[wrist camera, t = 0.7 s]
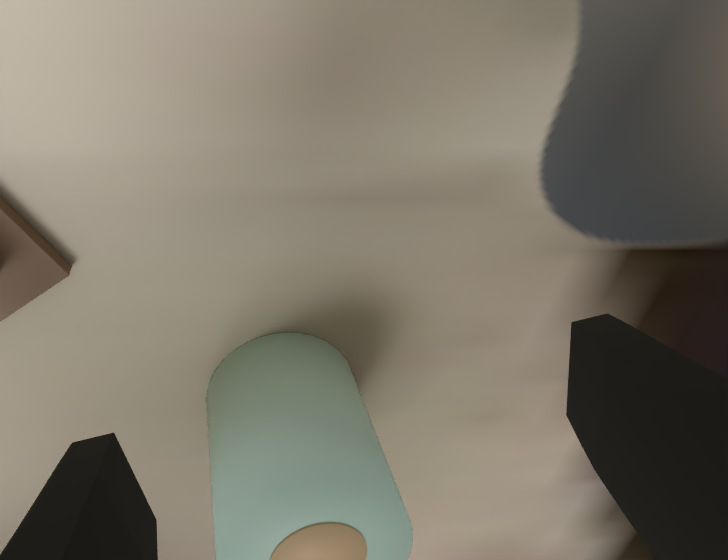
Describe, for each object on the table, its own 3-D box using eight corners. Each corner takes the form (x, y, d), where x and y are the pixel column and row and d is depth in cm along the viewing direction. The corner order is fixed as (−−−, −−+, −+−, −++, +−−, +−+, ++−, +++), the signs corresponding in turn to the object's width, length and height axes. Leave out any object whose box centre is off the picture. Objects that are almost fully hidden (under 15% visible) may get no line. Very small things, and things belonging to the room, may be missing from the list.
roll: (263, 473, 24) (291, 652, 18) (174, 389, 22) (173, 566, 16) (378, 399, 24) (445, 557, 18) (302, 305, 21) (352, 452, 15)
